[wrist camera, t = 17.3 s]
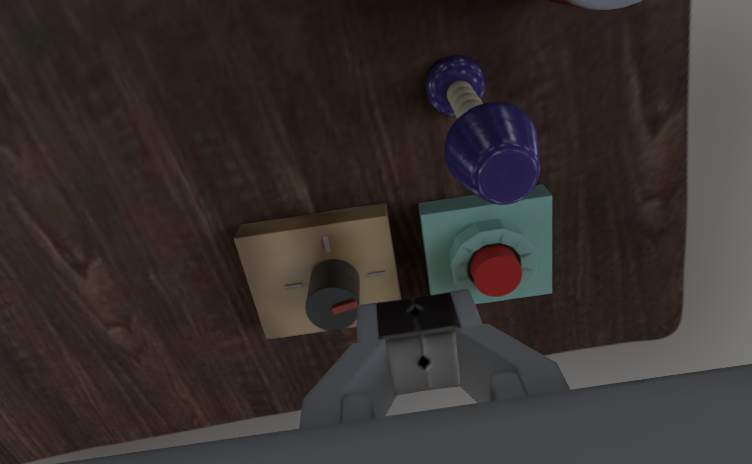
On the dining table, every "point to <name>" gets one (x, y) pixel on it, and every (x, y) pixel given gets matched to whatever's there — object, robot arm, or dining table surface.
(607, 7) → the canned food
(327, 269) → the dimmer knob
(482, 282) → the power button
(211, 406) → the dining table surface
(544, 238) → the switch block
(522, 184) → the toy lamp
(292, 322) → the dimmer panel
